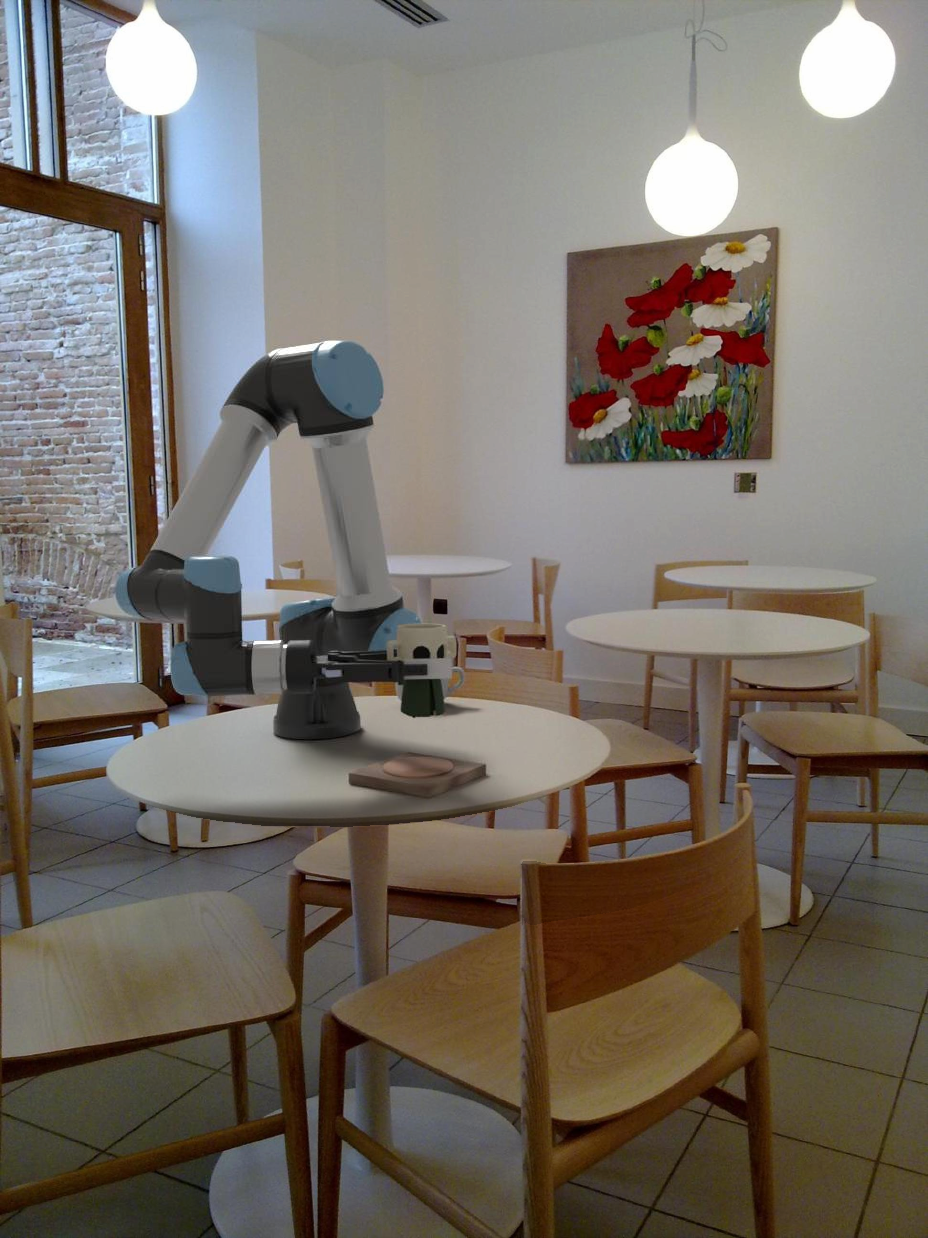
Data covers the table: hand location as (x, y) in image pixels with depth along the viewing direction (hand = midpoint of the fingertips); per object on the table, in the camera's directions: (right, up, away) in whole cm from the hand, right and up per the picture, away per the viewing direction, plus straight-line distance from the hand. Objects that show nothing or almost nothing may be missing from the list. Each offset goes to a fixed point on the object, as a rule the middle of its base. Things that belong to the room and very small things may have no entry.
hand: (449, 664), depth 142 cm
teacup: (-5, -11, +55) cm, 56 cm away
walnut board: (-5, -16, +2) cm, 17 cm away
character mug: (-4, -8, +1) cm, 9 cm away
